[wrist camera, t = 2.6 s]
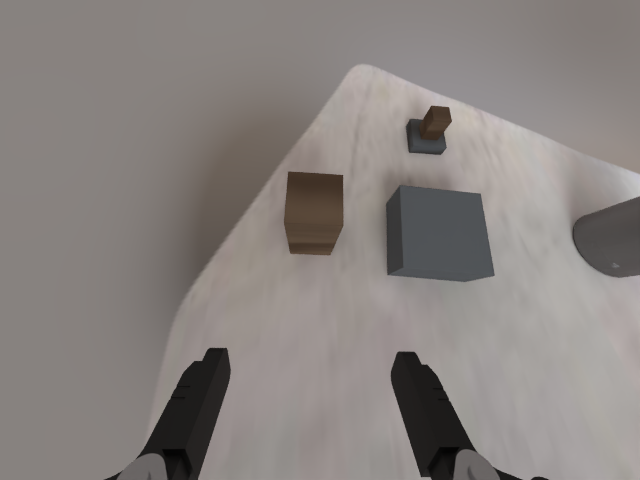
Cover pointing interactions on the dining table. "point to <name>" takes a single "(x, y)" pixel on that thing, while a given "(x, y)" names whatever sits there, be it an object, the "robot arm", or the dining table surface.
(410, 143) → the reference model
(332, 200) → the walnut block
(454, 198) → the slate base block
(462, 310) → the dining table surface
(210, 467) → the dining table surface
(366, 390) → the dining table surface
